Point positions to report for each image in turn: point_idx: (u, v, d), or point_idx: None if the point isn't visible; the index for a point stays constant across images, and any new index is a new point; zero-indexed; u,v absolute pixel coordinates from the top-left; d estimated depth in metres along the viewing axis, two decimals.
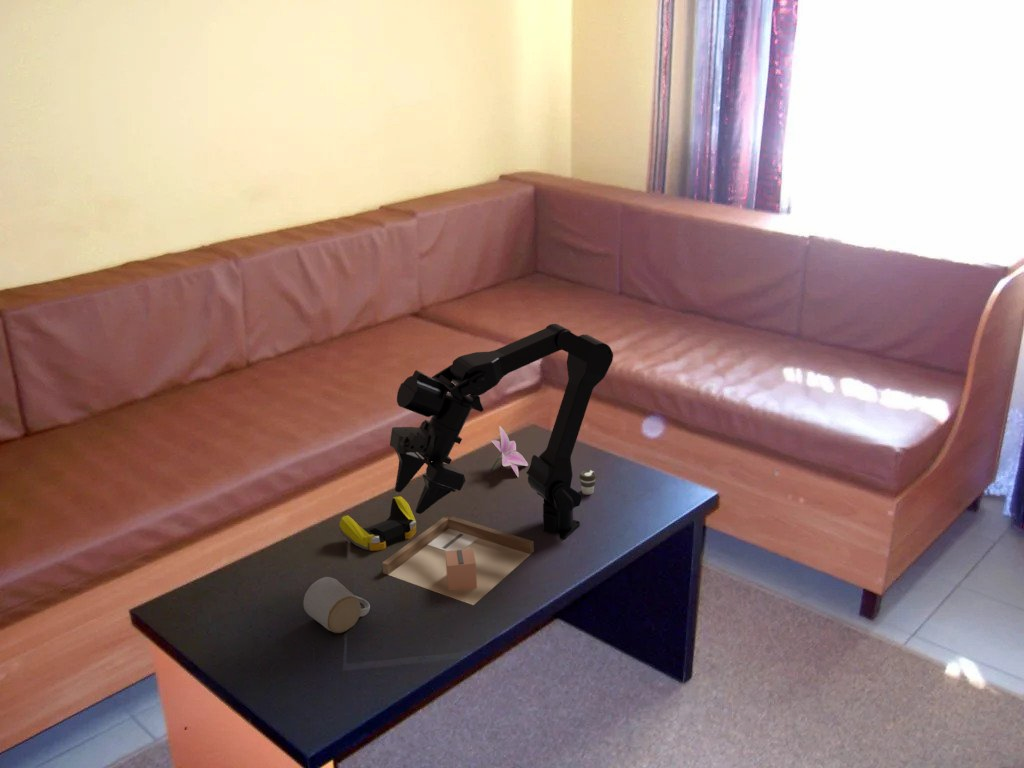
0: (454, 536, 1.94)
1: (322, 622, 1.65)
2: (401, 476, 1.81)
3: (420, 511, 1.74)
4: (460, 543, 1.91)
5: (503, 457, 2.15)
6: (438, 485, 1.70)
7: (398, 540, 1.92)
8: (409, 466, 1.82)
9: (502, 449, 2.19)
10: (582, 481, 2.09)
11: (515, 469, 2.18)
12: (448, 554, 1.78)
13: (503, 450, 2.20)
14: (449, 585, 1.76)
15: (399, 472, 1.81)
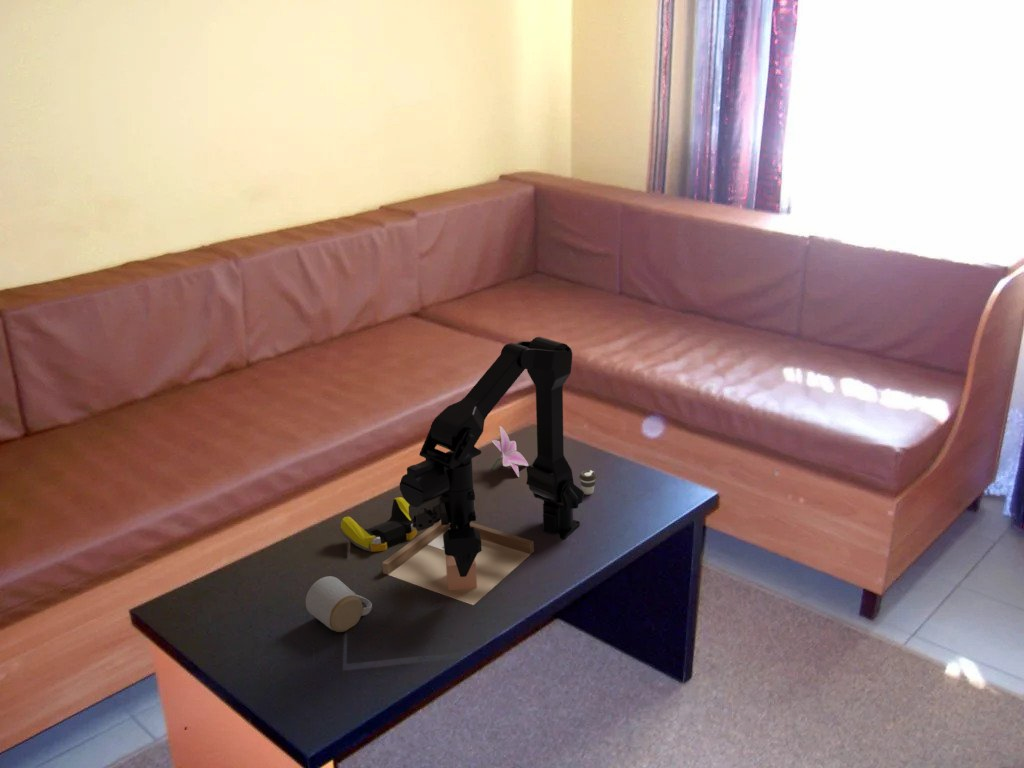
0: None
1: (324, 621, 1.66)
2: None
3: (464, 574, 1.73)
4: None
5: (503, 457, 2.15)
6: None
7: (399, 541, 1.92)
8: None
9: (502, 449, 2.19)
10: (582, 481, 2.09)
11: (516, 469, 2.19)
12: None
13: (503, 450, 2.20)
14: (449, 585, 1.76)
15: None
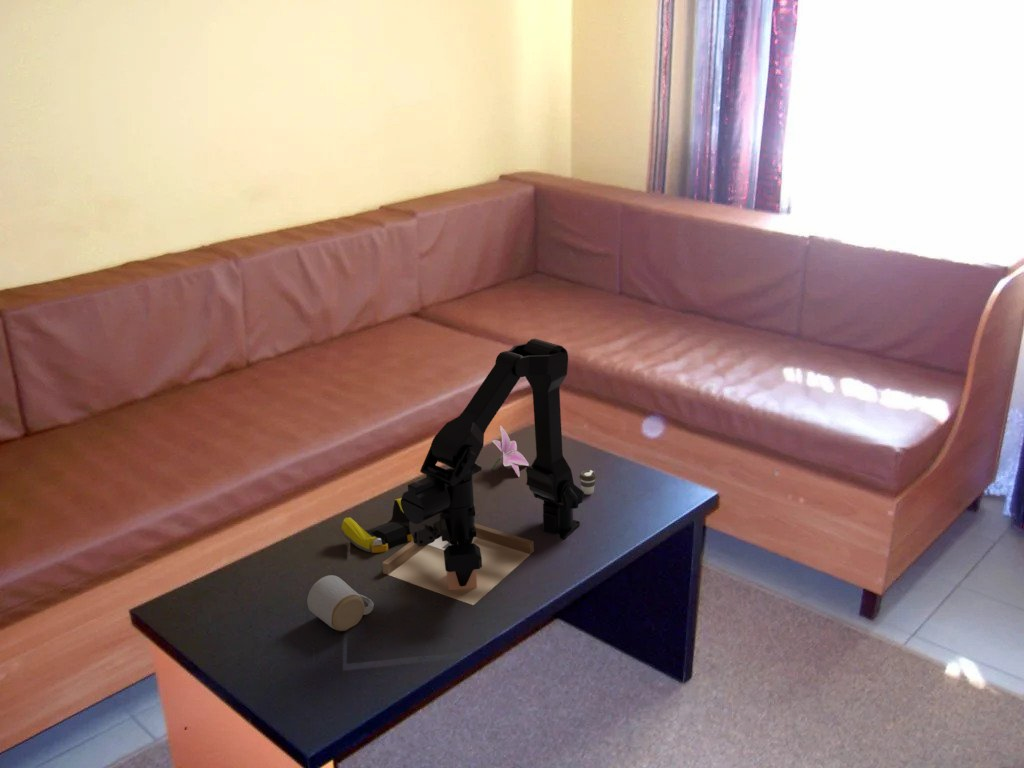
0: None
1: (326, 620, 1.66)
2: None
3: (463, 584, 1.76)
4: None
5: (504, 457, 2.15)
6: None
7: (400, 542, 1.92)
8: None
9: (503, 449, 2.19)
10: (582, 481, 2.09)
11: (516, 469, 2.19)
12: None
13: (504, 450, 2.20)
14: (449, 585, 1.76)
15: None
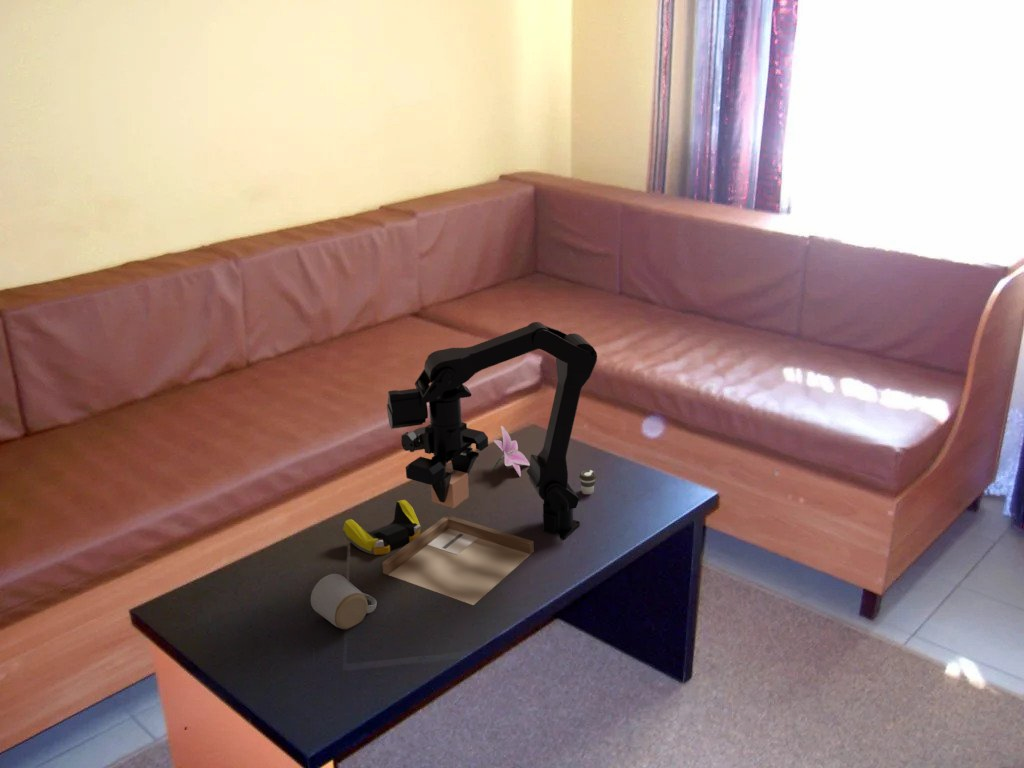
0: (454, 536, 1.94)
1: (329, 618, 1.66)
2: None
3: (441, 500, 1.85)
4: (460, 543, 1.91)
5: (505, 457, 2.15)
6: None
7: (402, 544, 1.91)
8: (458, 465, 1.88)
9: (504, 449, 2.19)
10: (582, 481, 2.09)
11: (517, 469, 2.19)
12: None
13: (505, 450, 2.20)
14: (432, 497, 1.87)
15: None
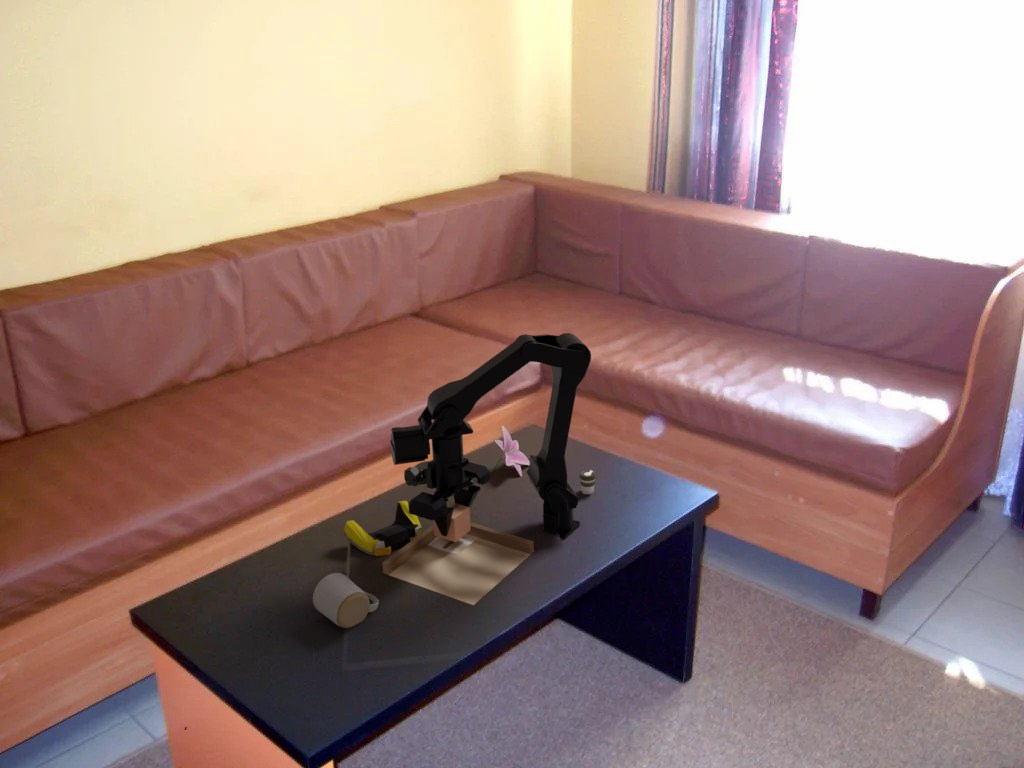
0: None
1: (331, 617, 1.67)
2: None
3: (443, 534, 1.88)
4: (460, 543, 1.91)
5: (506, 457, 2.15)
6: None
7: (403, 545, 1.91)
8: (460, 499, 1.91)
9: (505, 449, 2.19)
10: (582, 481, 2.09)
11: (518, 468, 2.19)
12: None
13: (506, 450, 2.20)
14: (434, 531, 1.90)
15: None
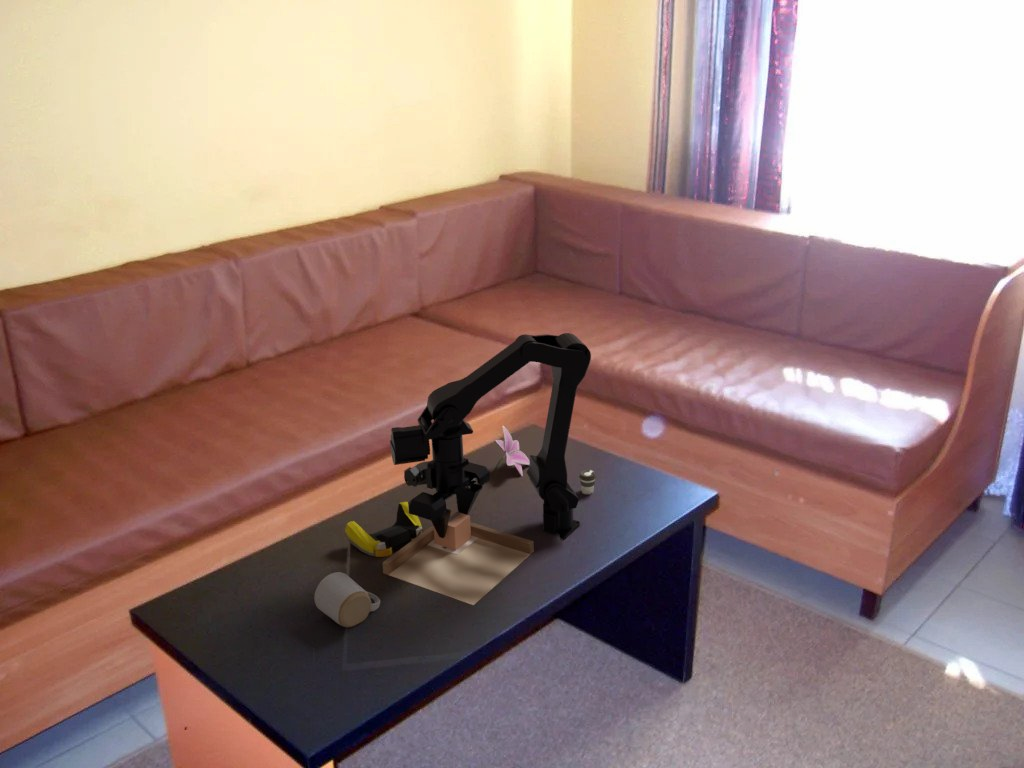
0: None
1: (333, 617, 1.67)
2: (459, 507, 1.93)
3: (441, 536, 1.88)
4: None
5: (507, 456, 2.15)
6: None
7: None
8: (462, 497, 1.92)
9: (506, 448, 2.19)
10: (582, 481, 2.09)
11: (519, 468, 2.19)
12: None
13: (507, 449, 2.20)
14: (435, 539, 1.91)
15: None
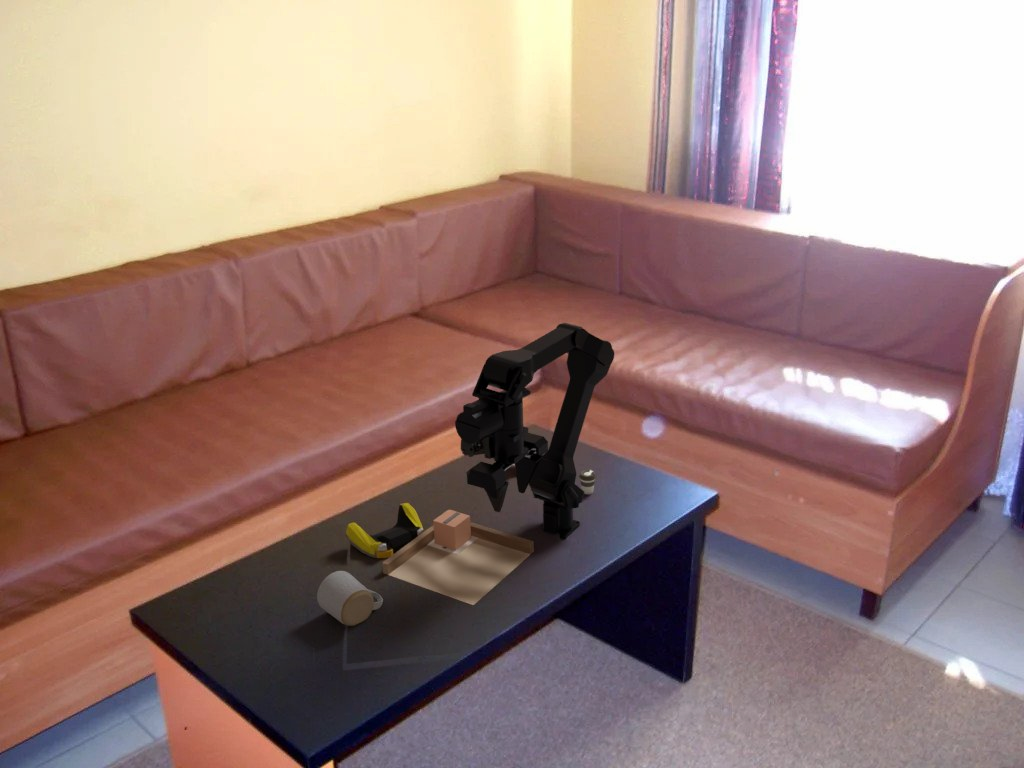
0: None
1: (335, 615, 1.67)
2: (518, 477, 1.85)
3: (497, 509, 1.79)
4: None
5: None
6: None
7: None
8: (522, 467, 1.84)
9: None
10: (582, 481, 2.09)
11: None
12: (447, 512, 1.92)
13: None
14: (435, 539, 1.91)
15: None
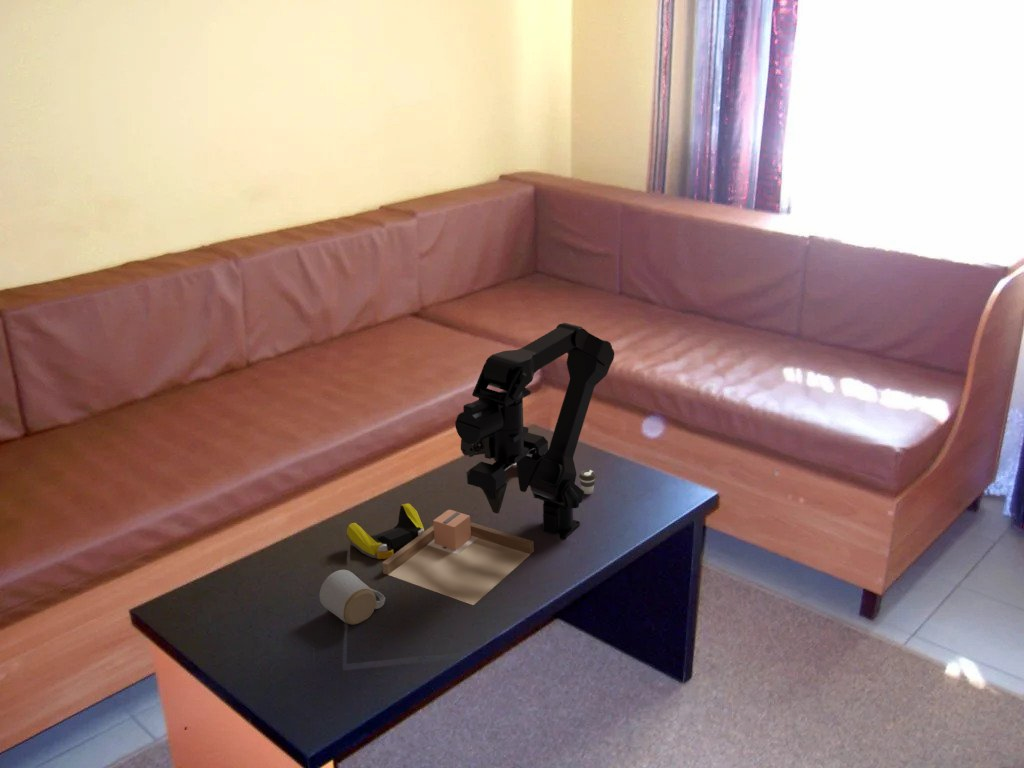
0: None
1: (338, 614, 1.67)
2: (519, 476, 1.86)
3: (495, 511, 1.79)
4: None
5: None
6: None
7: None
8: (523, 466, 1.85)
9: None
10: (582, 481, 2.09)
11: None
12: (447, 512, 1.92)
13: None
14: (435, 539, 1.91)
15: None
